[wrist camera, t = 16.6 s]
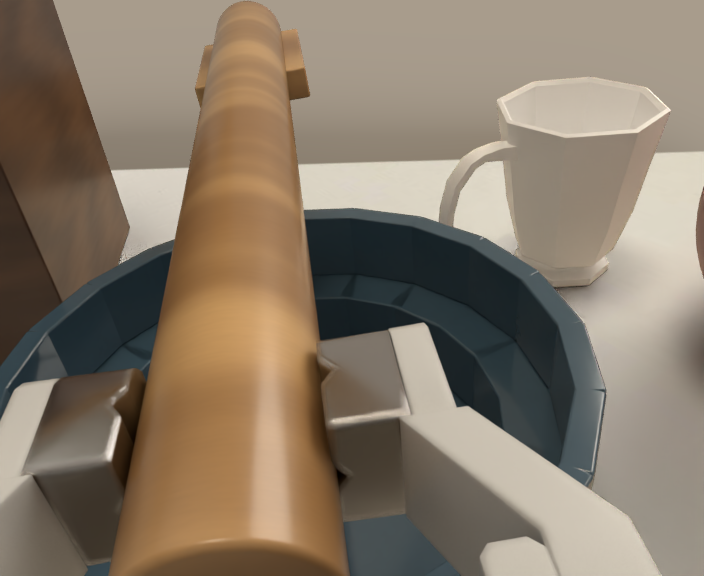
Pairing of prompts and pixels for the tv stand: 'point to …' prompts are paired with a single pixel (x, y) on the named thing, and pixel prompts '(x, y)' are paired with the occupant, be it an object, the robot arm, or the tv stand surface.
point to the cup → (569, 170)
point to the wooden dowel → (237, 343)
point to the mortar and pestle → (700, 232)
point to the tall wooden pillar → (48, 174)
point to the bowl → (370, 316)
